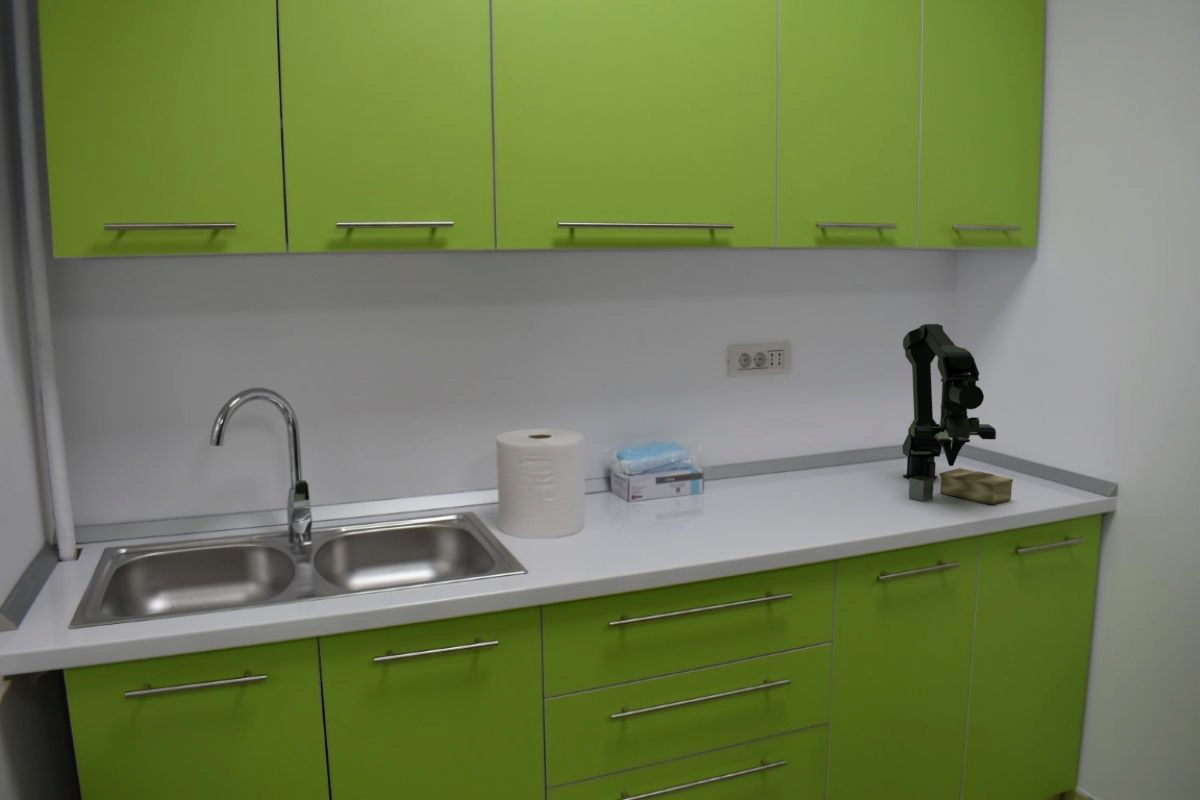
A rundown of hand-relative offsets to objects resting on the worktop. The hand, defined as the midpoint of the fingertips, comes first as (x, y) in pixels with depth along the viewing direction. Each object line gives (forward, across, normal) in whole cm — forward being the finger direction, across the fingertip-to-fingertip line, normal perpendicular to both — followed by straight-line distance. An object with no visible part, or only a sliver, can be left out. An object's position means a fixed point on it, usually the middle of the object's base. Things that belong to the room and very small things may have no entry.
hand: (950, 465), depth 214 cm
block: (+8, -7, -1) cm, 11 cm away
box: (+8, +6, +2) cm, 11 cm away
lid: (+4, +6, +2) cm, 8 cm away
